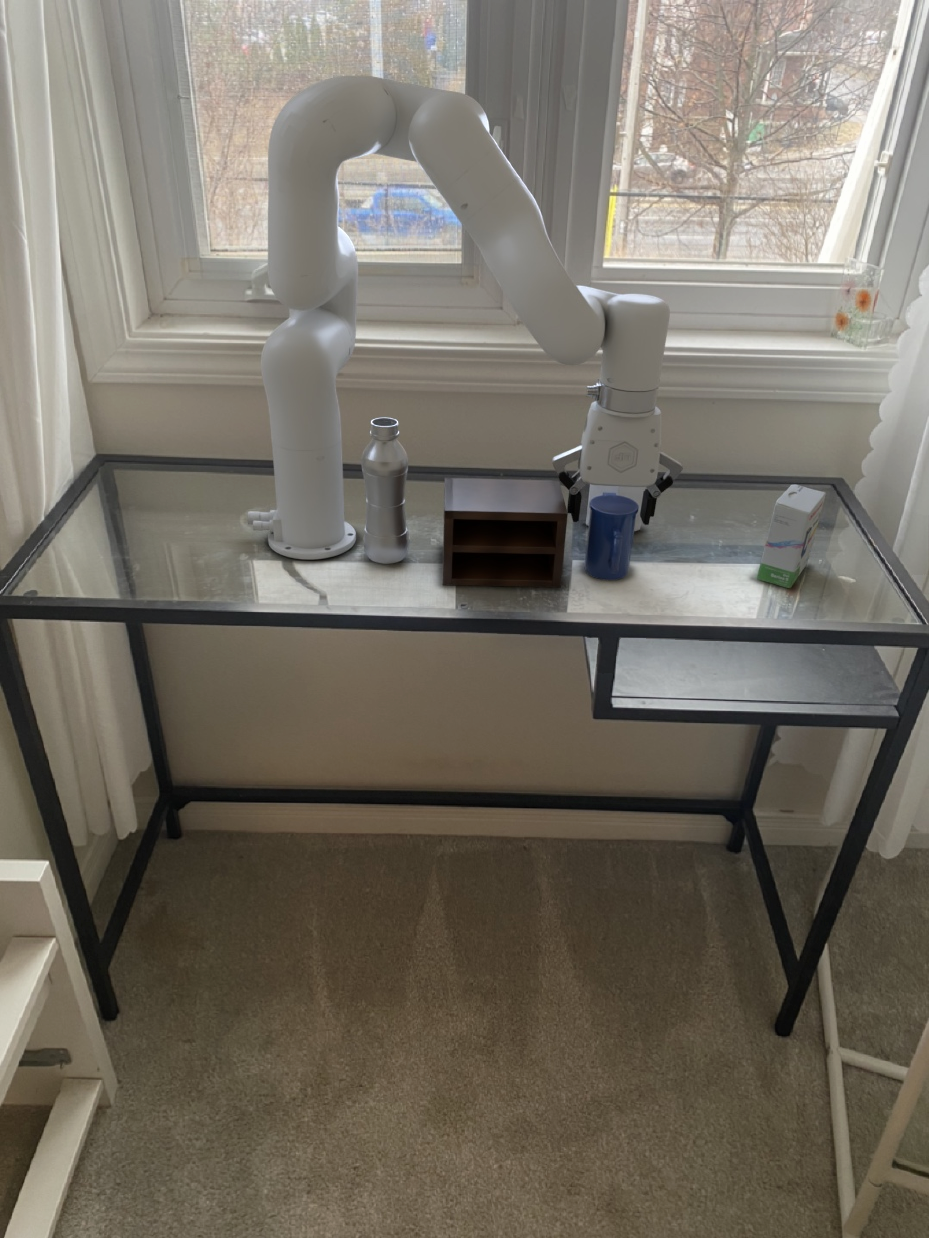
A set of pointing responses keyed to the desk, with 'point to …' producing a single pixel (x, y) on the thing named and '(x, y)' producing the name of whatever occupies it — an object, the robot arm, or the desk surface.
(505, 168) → the robot arm
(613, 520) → the jug
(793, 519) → the ink box
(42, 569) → the desk surface
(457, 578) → the shelf
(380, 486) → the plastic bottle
